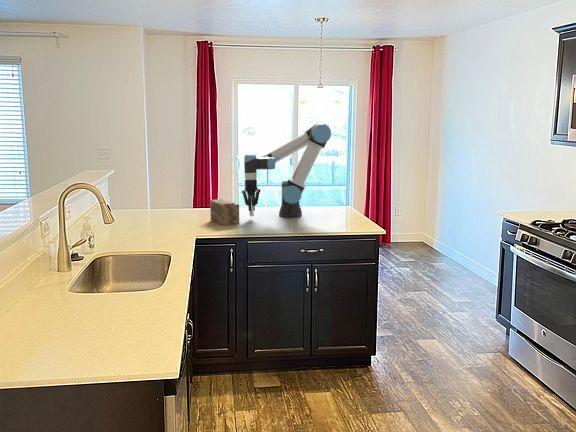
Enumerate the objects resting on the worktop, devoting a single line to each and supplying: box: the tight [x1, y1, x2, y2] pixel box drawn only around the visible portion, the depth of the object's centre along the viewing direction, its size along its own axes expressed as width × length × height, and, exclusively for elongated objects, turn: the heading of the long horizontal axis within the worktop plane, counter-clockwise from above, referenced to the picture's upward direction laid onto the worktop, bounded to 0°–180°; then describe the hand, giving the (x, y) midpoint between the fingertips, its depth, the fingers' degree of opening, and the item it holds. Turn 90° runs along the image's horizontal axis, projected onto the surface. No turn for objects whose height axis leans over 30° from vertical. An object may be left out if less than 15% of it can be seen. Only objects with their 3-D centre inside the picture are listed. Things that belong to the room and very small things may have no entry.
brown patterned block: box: [209, 198, 240, 227], centre depth 360 cm, size 11×18×13 cm, turn 32°
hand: (251, 215), depth 371 cm, fingers closed
